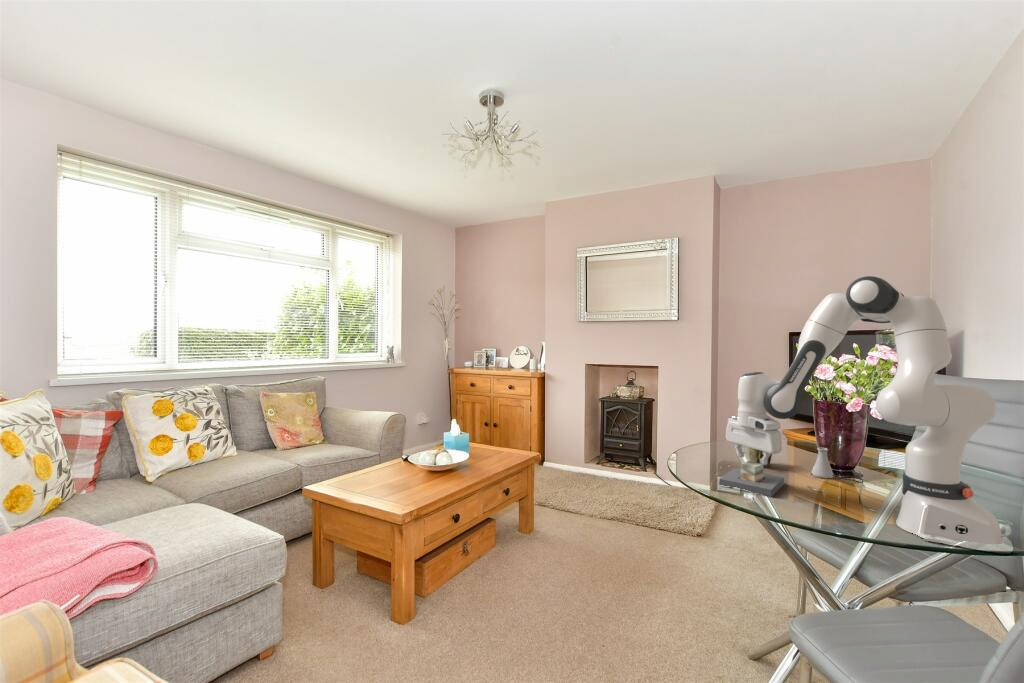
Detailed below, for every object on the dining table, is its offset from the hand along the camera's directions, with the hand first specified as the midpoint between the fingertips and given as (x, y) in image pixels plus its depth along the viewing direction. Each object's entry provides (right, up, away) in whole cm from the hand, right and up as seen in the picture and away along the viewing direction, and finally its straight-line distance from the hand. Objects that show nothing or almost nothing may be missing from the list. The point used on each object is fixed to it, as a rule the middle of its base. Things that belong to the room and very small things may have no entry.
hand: (751, 460), depth 162 cm
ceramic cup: (+14, -8, +22) cm, 27 cm away
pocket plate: (+1, -9, +1) cm, 9 cm away
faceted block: (0, -7, +1) cm, 7 cm away
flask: (+30, -8, +9) cm, 32 cm away
